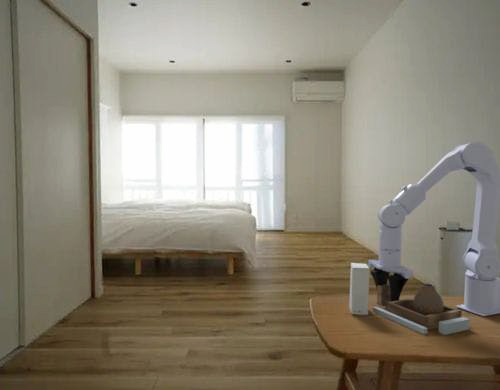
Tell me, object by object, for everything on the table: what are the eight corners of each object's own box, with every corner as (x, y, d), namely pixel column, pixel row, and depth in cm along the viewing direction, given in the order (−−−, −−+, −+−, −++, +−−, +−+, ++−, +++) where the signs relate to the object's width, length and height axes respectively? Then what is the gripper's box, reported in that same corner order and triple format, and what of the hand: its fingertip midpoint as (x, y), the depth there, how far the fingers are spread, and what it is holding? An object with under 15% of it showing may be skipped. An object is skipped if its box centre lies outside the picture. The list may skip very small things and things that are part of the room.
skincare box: (368, 315, 101) (369, 268, 100) (351, 314, 101) (352, 267, 101) (365, 308, 107) (366, 263, 106) (349, 306, 107) (350, 262, 107)
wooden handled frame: (398, 299, 114) (399, 282, 114) (461, 323, 96) (461, 302, 96) (365, 304, 109) (365, 286, 109) (424, 330, 91) (425, 308, 91)
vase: (446, 326, 94) (448, 289, 93) (415, 324, 95) (416, 287, 95) (439, 316, 100) (440, 282, 100) (409, 314, 102) (411, 280, 101)
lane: (407, 306, 109) (408, 297, 108) (469, 329, 92) (469, 319, 92) (373, 311, 103) (373, 302, 103) (431, 337, 87) (431, 326, 87)
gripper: (360, 245, 114) (358, 292, 114) (399, 255, 101) (397, 308, 101) (379, 244, 117) (377, 290, 117) (419, 253, 104) (417, 305, 104)
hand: (388, 298), depth 110 cm, fingers closed on wooden handled frame, 4 cm apart
